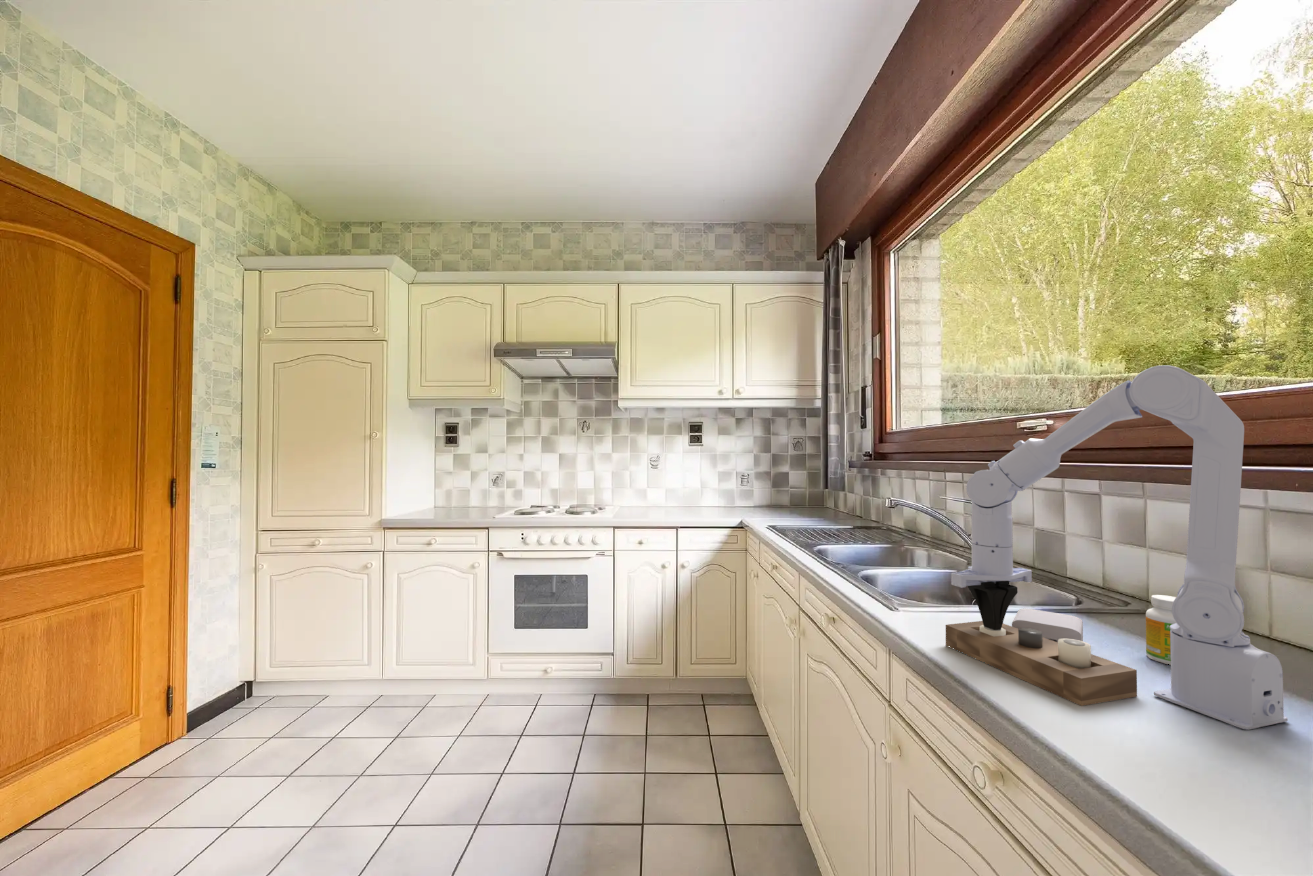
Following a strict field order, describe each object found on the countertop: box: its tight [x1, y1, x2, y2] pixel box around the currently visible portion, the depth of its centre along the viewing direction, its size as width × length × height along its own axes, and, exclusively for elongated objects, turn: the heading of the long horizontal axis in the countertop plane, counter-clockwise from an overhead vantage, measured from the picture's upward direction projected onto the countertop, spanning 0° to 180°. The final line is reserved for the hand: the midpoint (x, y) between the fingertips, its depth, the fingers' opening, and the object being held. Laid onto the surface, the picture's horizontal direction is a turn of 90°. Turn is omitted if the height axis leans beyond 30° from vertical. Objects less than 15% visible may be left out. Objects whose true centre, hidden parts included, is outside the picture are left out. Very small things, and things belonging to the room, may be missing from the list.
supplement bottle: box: [1145, 594, 1177, 666], centre depth 85 cm, size 5×5×10 cm
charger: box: [1011, 607, 1084, 642], centre depth 94 cm, size 5×9×15 cm
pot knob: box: [1018, 628, 1043, 648], centre depth 81 cm, size 3×3×2 cm
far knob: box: [980, 625, 1006, 637], centre depth 88 cm, size 4×4×3 cm
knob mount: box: [945, 620, 1138, 707], centre depth 81 cm, size 22×10×4 cm, turn 16°
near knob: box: [1058, 638, 1092, 669], centre depth 75 cm, size 4×4×3 cm
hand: (992, 628), depth 88 cm, fingers closed, pressing on far knob
